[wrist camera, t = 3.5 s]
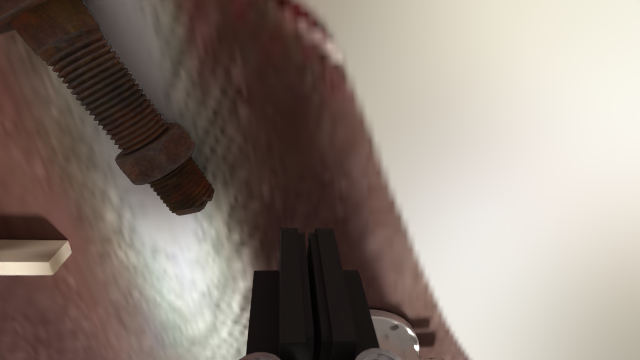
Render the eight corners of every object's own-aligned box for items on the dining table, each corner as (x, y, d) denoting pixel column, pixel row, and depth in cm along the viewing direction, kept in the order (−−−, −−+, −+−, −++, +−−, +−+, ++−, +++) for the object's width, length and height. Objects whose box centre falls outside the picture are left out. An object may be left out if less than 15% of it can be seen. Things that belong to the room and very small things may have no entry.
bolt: (198, 182, 27) (51, -16, 20) (244, 175, 25) (94, -56, 17) (146, 235, 23) (-62, 12, 16) (195, 234, 21) (-29, -35, 13)
